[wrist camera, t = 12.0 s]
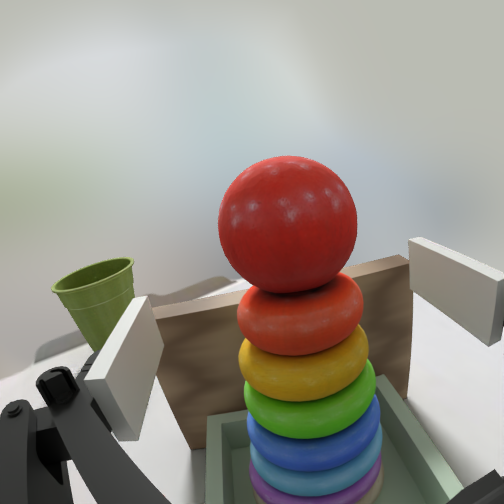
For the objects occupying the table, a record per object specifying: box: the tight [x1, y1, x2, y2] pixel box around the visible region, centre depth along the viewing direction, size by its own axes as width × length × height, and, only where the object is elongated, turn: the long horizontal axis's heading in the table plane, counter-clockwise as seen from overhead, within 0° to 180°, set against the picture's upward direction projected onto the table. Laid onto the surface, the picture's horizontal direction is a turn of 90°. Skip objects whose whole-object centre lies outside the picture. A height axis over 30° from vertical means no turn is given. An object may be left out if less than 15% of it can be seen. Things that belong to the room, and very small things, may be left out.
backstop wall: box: [152, 255, 413, 450], centre depth 22 cm, size 18×2×12 cm, turn 94°
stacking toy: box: [218, 156, 384, 504], centre depth 13 cm, size 8×8×19 cm
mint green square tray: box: [205, 374, 464, 504], centre depth 15 cm, size 13×13×4 cm
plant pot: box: [51, 257, 135, 352], centre depth 39 cm, size 12×12×11 cm
